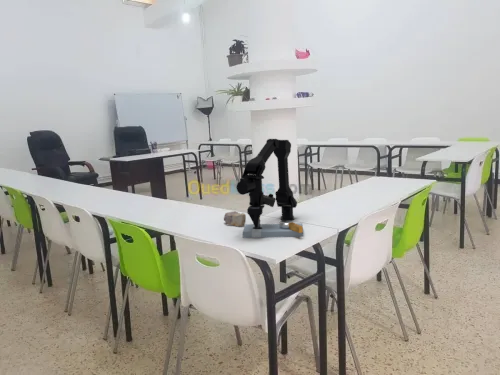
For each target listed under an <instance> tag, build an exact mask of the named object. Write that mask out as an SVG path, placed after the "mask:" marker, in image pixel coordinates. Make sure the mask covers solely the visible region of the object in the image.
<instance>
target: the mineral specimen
mask: <svg viewBox="0 0 500 375" xmlns="http://www.w3.org/2000/svg"><path fill="white" fill-rule="evenodd" d="M246 216H247V214H246V213H243V212H242V213H240V212H238V211H228V212H225V214H224V217H223V221H224V222H225V224H226V225H227V226H235V227H245V225H246V218H247V217H246Z"/></svg>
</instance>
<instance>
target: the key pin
mask: <svg viewBox="0 0 500 375" xmlns="http://www.w3.org/2000/svg"><path fill="white" fill-rule="evenodd" d="M260 224H261V215H260V216H259V222H258V227H255V226H254V227H255V229H260Z"/></svg>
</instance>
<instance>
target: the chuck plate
mask: <svg viewBox="0 0 500 375" xmlns="http://www.w3.org/2000/svg"><path fill="white" fill-rule="evenodd" d="M294 223H295V224H298V225H300V226H303V222H302V223H301V222H300V223H298V222H297V223H296V222H294ZM243 227H244V228H243V230H242V238H249V239H250V238H297V237H298V238H300V237H301V238H302V237H304V231H303V232H302V233H298V232H295V231H293V230H291V229H283V228H280V227H279V223H260V229H255V227H254V224H253V223H252V224H251V223H249V224H247V223H245V224H244V226H243Z"/></svg>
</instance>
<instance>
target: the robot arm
mask: <svg viewBox="0 0 500 375" xmlns="http://www.w3.org/2000/svg"><path fill="white" fill-rule="evenodd" d="M265 142H266V143H265V144H264V145H263V147H262V148H261V149H260V151H259V152H258V154H257V155H256V156H255V157H254V158H251V159H250V160H249V161H247V163H246V164H245V167H244V170H243V172H242V176H241V178H239V181H238V182H237V184H236V191H237V193H238V194H239V195H247V194H248V197H249V202H248V203H249V205H248V208H247V209H246V210H247V215H248V216H249V218H250V220H251V221H252V224H254V226H255V227H258V222H259V216H260V217H261V215H263V211H264V210H263V209H264V208H265V205H266V206H268V207H271V208H274V207H275V203H276V205H277V206H276V207H280V208H281V216H280V221H282V220H283V219H284V220H289V221H294V220H295V216H294V209H295V208H296V207H297V206H298V201H297V200H296V198H295V197H294V193H293V190H292V188H290V179H289V178H290V177H289V162H288V160H289V159H288V158H289V156H290V153H291V151H292V149H291V148H292V143H291V142H290V141H289V139H277V138H268V139H267V140H266V141H265ZM272 154H274V156H275V157H276V160H277V172H278V189H277V191H275V196H274V194H272V193H269V194H267V195H266V194H264V191H263V179H265V177H264V175H263V173H264V171H265V170H266V163H267V162H268V160H269V159H270V157H271V155H272Z"/></svg>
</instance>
